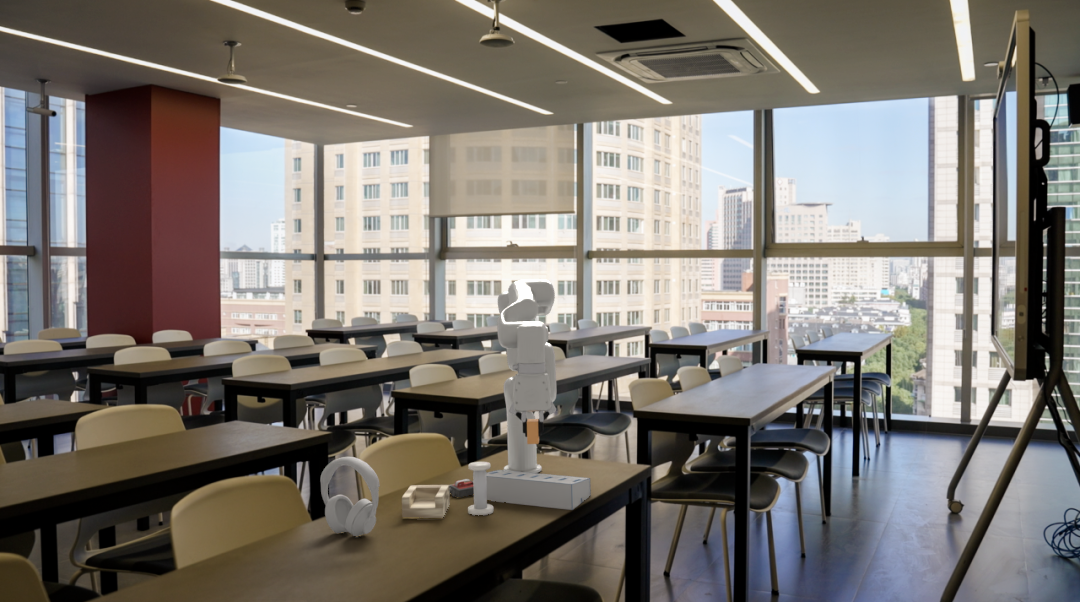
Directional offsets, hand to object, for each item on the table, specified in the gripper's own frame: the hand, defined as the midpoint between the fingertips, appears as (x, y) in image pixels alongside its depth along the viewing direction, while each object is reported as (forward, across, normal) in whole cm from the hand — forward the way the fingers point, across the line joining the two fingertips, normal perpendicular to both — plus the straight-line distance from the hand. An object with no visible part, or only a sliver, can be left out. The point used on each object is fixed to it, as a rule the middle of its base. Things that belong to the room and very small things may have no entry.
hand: (533, 435), depth 213 cm
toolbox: (+22, -24, +18) cm, 37 cm away
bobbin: (+21, -15, 0) cm, 26 cm away
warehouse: (+22, -1, +13) cm, 25 cm away
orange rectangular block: (+2, 0, 0) cm, 2 cm away
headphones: (+21, -46, -18) cm, 54 cm away
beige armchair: (+21, -30, 0) cm, 37 cm away
